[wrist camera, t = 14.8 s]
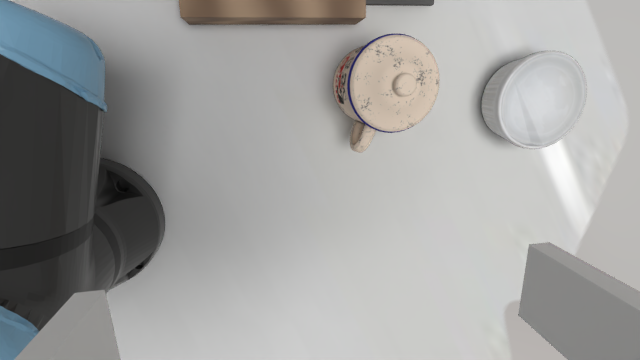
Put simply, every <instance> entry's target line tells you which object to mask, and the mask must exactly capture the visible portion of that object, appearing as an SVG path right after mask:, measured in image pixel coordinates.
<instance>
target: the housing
mask: <svg viewBox="0 0 640 360" xmlns="http://www.w3.org/2000/svg"><path fill="white" fill-rule="evenodd" d="M179 7H180V15H181V18H182V19H184V20H185V21H186V22H187V23H188V24H357V23H358V22H360V21H361V20H363V19H364V18H366V0H179Z"/></svg>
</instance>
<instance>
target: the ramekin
mask: <svg viewBox="0 0 640 360" xmlns="http://www.w3.org/2000/svg"><path fill="white" fill-rule="evenodd" d="M586 96H587V84H586V79H585V75H584V72H583V70H582V68H581V66H580V65H579V63H578V62H577V61H576V60H575V59H574V58H573V57H571V56H570V55H568V54H565V53H562V52H559V51H541V52H537V53H533V54H531V55H528V56H526V57H524V58H522V59H519V60H516V61H513V62H510V63H508V64H506V65H505V66H503V67H501V68H500V69H499V70H498V71H497V72H496V73H495V74H494V75H493V76H492V77H491V79H490V80H489V82H488V84H487V85H486V88H485V90H484V93H483V97H482V103H481V105H482V114H483V118H484V120H485V122H486V124H487V126H488V127H489V128H490V129H491V130H492V131H493V132H494V133H496V134H498V135H499V136H501V137H503V138H505V139H506V140H507V141H509V142H510V143H512V144H514V145H516V146H519V147H522V148H528V149H538V148H543V147H547V146H549V145H552V144H554V143H556V142H557V141H559V140H560V139H562V138H563V137H564V136H565V135H567V134H568V133H569V132H570V130H571V129H572V128H573V127H574V126H575V124H576V123H577V121H578V119H579V118H580V116H581V114H582V111H583V109H584V105H585V101H586Z"/></svg>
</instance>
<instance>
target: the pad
mask: <svg viewBox="0 0 640 360" xmlns="http://www.w3.org/2000/svg"><path fill="white" fill-rule="evenodd" d="M433 4H434V0H366V5H423V6H431V5H433Z"/></svg>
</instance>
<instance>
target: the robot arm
mask: <svg viewBox="0 0 640 360" xmlns="http://www.w3.org/2000/svg"><path fill="white" fill-rule="evenodd" d="M104 91H105V60H104V56H103V54H102V52H101V50H100V49H99V47H98V46H97V45H96V44H95V42H94V41H92V40H91V39H90V38H89V37H88V36H86V35H85V34H83V33H81V32H80V31H78V30H76V29H74V28H72V27H70V26H68V25H66V24H64V23H62V22H60V21H57V20H55V19H52V18H50V17H48V16H45V15H43V14H41V13H39V12H36V11H34V10H31V9H29V8H26V7H24V6H22V5H19V4H17V3H14V2H12V1H9V0H0V360H120V355H119V351H118V346H117V342H116V337H115V333H114V329H113V324H112V320H111V315H110V311H109V306H108V302H107V297H106V293H107V292H108V290H110V289H112V288H114V287H116V286H118V285H119V284H121V283H123V282H125V281H127V280H129V279H130V278H132V277H134V276H135V275H137V274H138V273H139V272H140V271H141V270H142V269H144V268H145V267H146V265H147V264H148V263H149V262H150V261H151V259H152V258H153V256H154V255H155V253H156V251H157V250H158V248H159V246H160V244H161V242H162V239H163V235H164V229H165V219H164V213H163V209H162V206H161V203H160V201H159V199H158V197H157V195H156V193H155V192H154V190H153V189H152V188H151V186H150V185H149V184H148V183H147V182H146V181H145V180H144V179H143V178H142V177H140V176H139V175H138V174H137V173H135V172H134V171H132V170H131V169H129V168H127V167H125V166H123V165H121V164H119V163H116V162H113V161H110V160H106V159H101V158H100V152H101V141H102V130H103V119H104V112H107V104H106V103H105V102H104ZM518 315H519V316H520V317H521V318H522V319H523V320H524V321H525V322H526V323H528V324H529V325H530V326H531V327H532V328H533V329H534V330H535V331H536V332H538V333H539V334H540V335H541V336H542V337H543V338H544V339H545V340H546V341H548V342H549V343H550V344H551V345H552V346H553V347H554V348H555V349H556V350H558V351H559V352H560V353H561V354H562V355H563V356H564V357H565V358H567V359H568V360H640V292H639V291H638V290H636V289H634V288H632V287H630V286H628V285H627V284H625V283H623V282H621V281H619V280H617V279H615V278H614V277H612V276H610V275H608V274H606V273H605V272H603V271H601V270H599V269H597V268H595V267H593V266H592V265H590V264H588V263H586V262H584V261H583V260H581V259H579V258H577V257H575V256H573V255H572V254H570V253H568V252H566V251H564V250H562V249H561V248H559V247H557V246H555V245H553V244H551V243H550V242H549V243H539V244H530V245H529V249H528V255H527V262H526V268H525V275H524V281H523V288H522V295H521V301H520V308H519V314H518Z"/></svg>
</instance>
